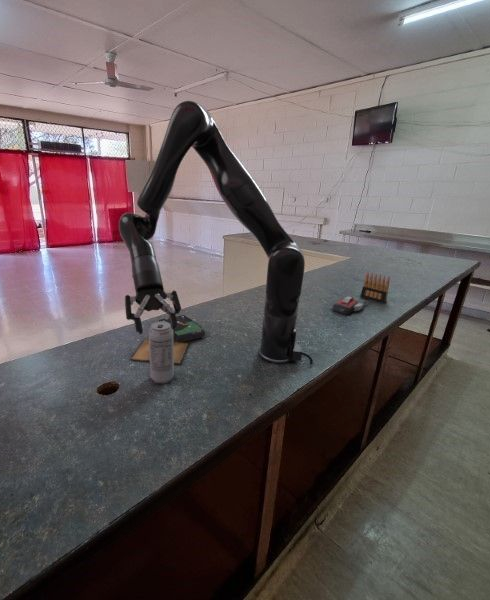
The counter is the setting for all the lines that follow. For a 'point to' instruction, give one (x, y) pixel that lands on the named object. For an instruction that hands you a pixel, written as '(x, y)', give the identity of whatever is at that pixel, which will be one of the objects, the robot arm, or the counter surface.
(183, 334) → the disk drive
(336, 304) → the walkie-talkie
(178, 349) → the cork pad
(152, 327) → the energy drink can
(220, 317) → the counter surface
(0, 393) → the counter surface
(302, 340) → the counter surface
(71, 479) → the counter surface
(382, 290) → the ammunition clip
